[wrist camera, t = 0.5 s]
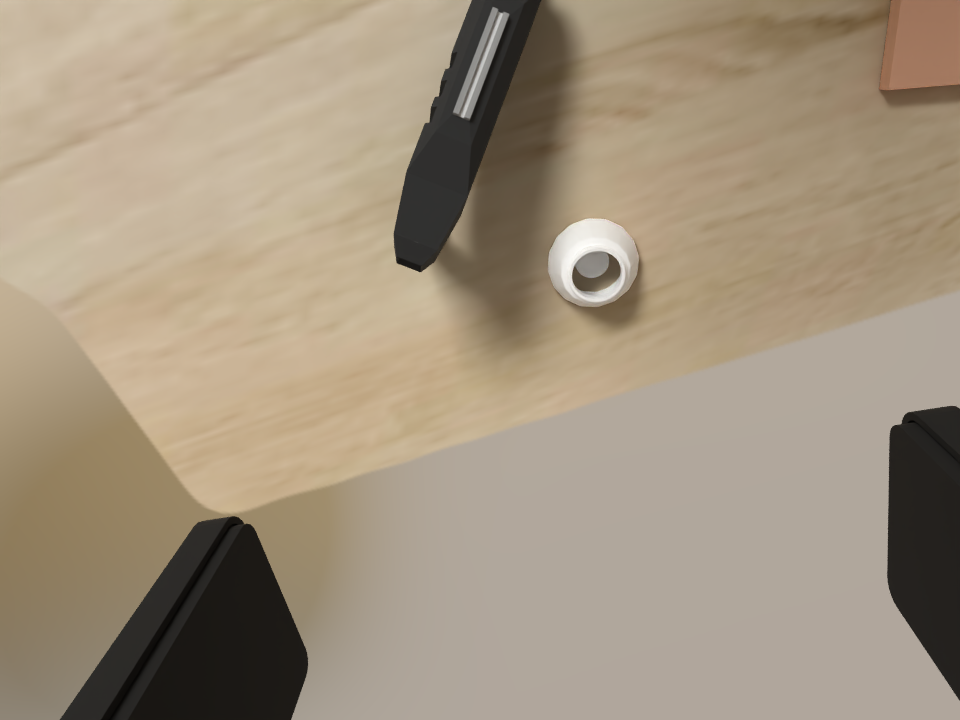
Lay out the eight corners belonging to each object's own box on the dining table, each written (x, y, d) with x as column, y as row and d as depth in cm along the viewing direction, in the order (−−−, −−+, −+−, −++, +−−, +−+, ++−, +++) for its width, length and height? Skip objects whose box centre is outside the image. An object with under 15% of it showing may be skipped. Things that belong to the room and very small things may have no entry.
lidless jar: (641, 218, 38) (550, 215, 39) (650, 230, 36) (552, 227, 36) (631, 303, 40) (545, 300, 41) (638, 321, 38) (547, 317, 38)
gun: (528, 35, 40) (570, -81, 30) (431, 295, 39) (441, 265, 29) (482, 15, 40) (509, -108, 30) (383, 277, 39) (377, 240, 29)
